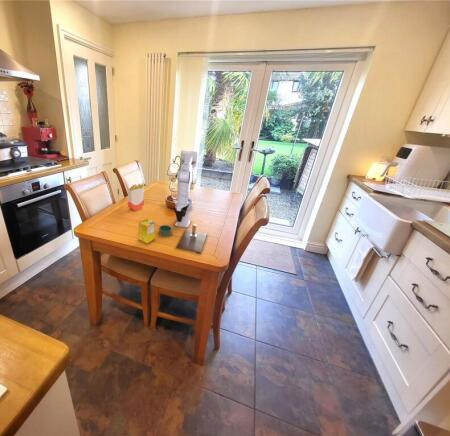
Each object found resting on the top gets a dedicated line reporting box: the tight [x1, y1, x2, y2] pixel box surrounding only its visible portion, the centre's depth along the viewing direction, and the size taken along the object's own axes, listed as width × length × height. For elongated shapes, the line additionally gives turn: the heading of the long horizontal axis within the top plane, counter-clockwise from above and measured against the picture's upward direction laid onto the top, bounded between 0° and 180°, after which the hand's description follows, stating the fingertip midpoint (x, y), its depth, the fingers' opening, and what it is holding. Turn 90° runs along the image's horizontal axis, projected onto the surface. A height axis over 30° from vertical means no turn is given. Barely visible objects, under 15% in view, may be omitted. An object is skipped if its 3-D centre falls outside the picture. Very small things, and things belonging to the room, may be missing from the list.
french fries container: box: [127, 183, 145, 211], centre depth 158 cm, size 5×11×18 cm, turn 137°
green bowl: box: [158, 224, 173, 238], centre depth 129 cm, size 7×7×4 cm
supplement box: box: [138, 218, 156, 245], centre depth 121 cm, size 6×6×11 cm
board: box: [176, 229, 208, 255], centre depth 124 cm, size 20×12×1 cm, turn 162°
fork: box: [190, 223, 197, 241], centre depth 122 cm, size 2×3×9 cm
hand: (181, 218), depth 125 cm, fingers open, 7 cm apart
